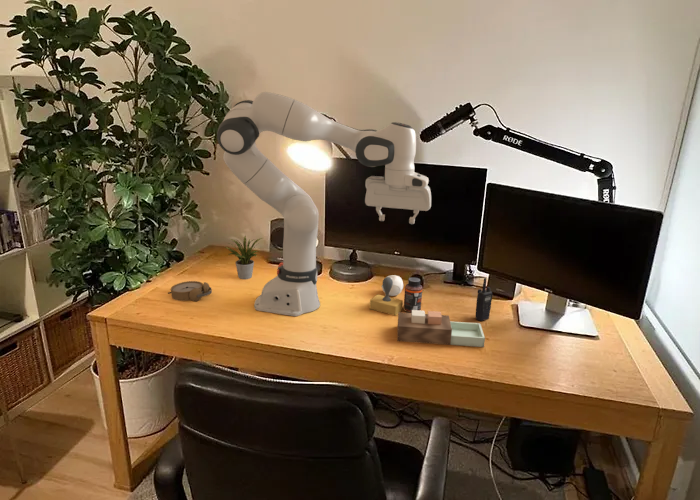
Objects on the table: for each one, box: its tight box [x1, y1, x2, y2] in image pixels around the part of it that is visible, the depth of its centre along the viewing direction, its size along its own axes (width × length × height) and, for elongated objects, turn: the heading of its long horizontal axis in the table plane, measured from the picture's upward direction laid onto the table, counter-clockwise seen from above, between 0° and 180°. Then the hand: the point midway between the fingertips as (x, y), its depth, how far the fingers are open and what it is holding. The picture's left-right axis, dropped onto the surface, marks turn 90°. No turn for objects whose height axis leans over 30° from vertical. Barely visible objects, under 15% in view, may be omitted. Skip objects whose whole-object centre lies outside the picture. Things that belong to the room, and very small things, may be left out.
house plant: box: [224, 235, 263, 280], centre depth 209 cm, size 14×14×16 cm
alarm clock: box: [167, 280, 213, 302], centre depth 191 cm, size 11×5×15 cm
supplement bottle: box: [403, 277, 423, 313], centre depth 184 cm, size 6×6×11 cm
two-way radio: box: [474, 277, 493, 322], centre depth 179 cm, size 6×4×15 cm
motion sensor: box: [381, 274, 404, 297], centre depth 196 cm, size 8×8×8 cm
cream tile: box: [411, 310, 426, 324], centre depth 166 cm, size 4×4×2 cm
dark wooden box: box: [396, 311, 452, 346], centre depth 167 cm, size 16×10×5 cm, turn 85°
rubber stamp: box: [369, 276, 404, 316], centre depth 184 cm, size 10×6×12 cm, turn 62°
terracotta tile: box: [427, 310, 442, 325], centre depth 166 cm, size 4×4×2 cm
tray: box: [450, 320, 486, 348], centre depth 167 cm, size 10×10×3 cm
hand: (396, 221), depth 167 cm, fingers open, 8 cm apart
